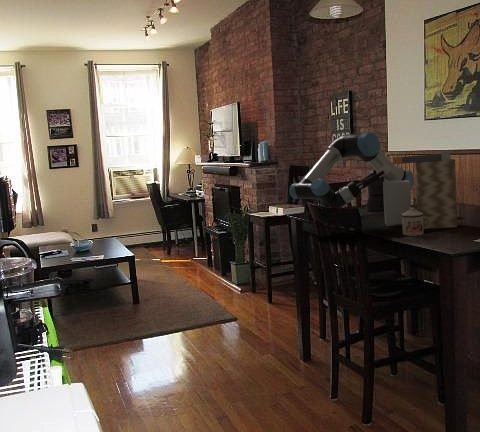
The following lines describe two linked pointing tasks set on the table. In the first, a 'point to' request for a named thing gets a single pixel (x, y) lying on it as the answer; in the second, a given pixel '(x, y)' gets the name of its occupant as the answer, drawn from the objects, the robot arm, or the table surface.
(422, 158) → the brown bar
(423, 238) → the table surface
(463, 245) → the table surface
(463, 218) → the table surface
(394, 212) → the block
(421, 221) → the teacup with lid
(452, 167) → the wood grain block
